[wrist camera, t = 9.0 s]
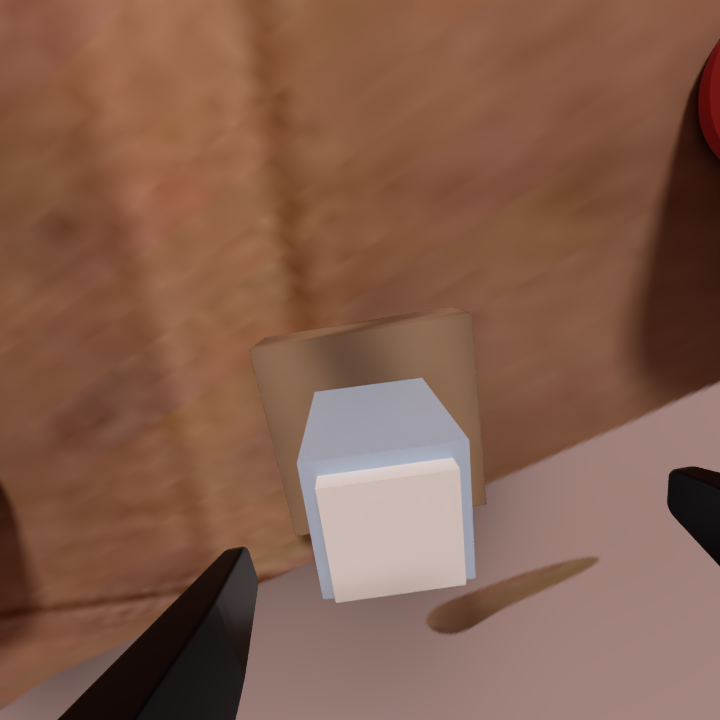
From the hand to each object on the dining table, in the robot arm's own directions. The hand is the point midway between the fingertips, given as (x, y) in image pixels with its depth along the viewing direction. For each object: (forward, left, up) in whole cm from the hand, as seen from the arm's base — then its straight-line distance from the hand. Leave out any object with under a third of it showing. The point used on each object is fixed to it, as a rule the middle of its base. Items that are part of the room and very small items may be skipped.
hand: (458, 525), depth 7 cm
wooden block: (+1, +2, -12) cm, 13 cm away
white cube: (+1, +2, -9) cm, 9 cm away
